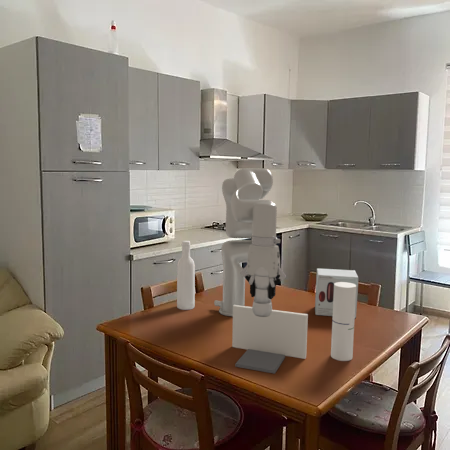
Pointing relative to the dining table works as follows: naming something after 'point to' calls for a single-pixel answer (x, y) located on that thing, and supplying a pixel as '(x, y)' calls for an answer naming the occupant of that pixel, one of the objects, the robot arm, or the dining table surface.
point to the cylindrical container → (343, 321)
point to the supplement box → (331, 288)
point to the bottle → (185, 279)
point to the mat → (260, 361)
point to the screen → (270, 331)
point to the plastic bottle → (262, 293)
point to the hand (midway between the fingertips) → (262, 296)
